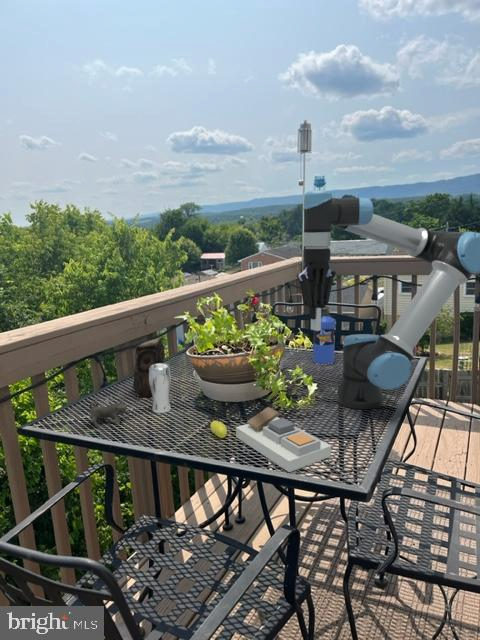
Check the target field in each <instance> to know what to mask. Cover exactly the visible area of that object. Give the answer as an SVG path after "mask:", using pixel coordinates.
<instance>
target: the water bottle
mask: <svg viewBox="0 0 480 640" xmlns="http://www.w3.org/2000/svg"><path fill="white" fill-rule="evenodd" d="M325 306H326V307H325V308H323V311H322V318H321V330H320V331H315V330H313V334H314V335H313V336H314V337H313V343H312V345H313V347H312V363H313V362H314V363H318V364H328V363H332V362H334V363H335V337H334V335H335V330H336V319H335V318H333V317H331V316H330V313H331V312H330V310H329V309H330V308H329V306H328V305H325ZM314 363H313V364H314Z"/></svg>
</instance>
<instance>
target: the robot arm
mask: <svg viewBox="0 0 480 640" xmlns="http://www.w3.org/2000/svg"><path fill="white" fill-rule="evenodd" d="M303 198H304V199H303V207H302V209H303V247H304V248H303V252H302V253H303V254H302V255H303V257H302V260H303V262H304V266H303V271H302V272H300V273H297V274H296V279H297V280H298V282H299V286H300V287H299V288H300V292H301V297H302V304H303V306H304V307H307V308H308V310H309V312H308V313H309V319H310V330H311V331H314V330H315V331H320V330H321V318H322V311H323V308H325V307H326V306H328V304H329V301H330V298H331V297H330V296H331V291H332V286H333V282H334V278H335V276H336V270H335V271H334V270H331V269H330V265H329V262H330V261H331V249H330V248H329V247H331V244H332V243H331V241H332V238H331V237H332V236H331V235H332V234H331V233H332V227H334V228H337V229H340V230H343V231H346V232H349V233H352V234H355V235H357V236H360V237H364V238H365V239H369V240H373V241H376V242H378V243H381V244H383V245H386V246H390V247H392V248H395V249H399V250H402V251H405V252H407V255H409V256H410V257H412V258H415V259H418V260H420V261H423V262H425V263H427V264H429V265H431V267H432V270H431V272H430V274H429V275H428V276H427V278H426V279H425V280H424V282H423V283H422V285H421V286H420V287H419V289H418V290H417V292H415V293H416V294H415V295H414V296H413V297H412V299H411V301H410V302H409V303H408V305H407V306H406V307H405V309H404V310H403V312H402V313H401V314H400V316H399V318H398V319H397V320H396V321H395V323H394V324H393V325H392V327H391V329H390V330H389V332H388V333H386V334H381V335H377V334H370V333H365V334H364V333H362V334H359V333H358V334H357V333H356V334H350V335H346V336H345V337H344V339H343V345H342V348H343V351H342V380H341V381H340V385H339V388H338V390H337V393H336V401H337V403H339V405H341V406H344V407H347V408H349V409H355V410H356V409H357V410H372V409H377V408H379V407H382V405H383V404H384V396H383V393H382V390H381V389H383V390H384V389H385V390H394V389H398V388H400V387H402V386H403V385H405V383H406V382H407V381H408V380H409V378H410V376H411V373H412V370H411V368H412V363H411V362H412V360H413V359H414V358H415V355H414V352H413V351H414V348H415V347H416V346H417V344H418V343H419V341H420V340H421V338H422V337H423V336H424V334H425V333H426V331H427V330H428V328H429V327H430V326H431V324H432V323H433V322H434V321H435V319H436V317H437V316H438V314H439V313H440V312H441V310H443V307H444V306H445V305H446V303H447V302H448V300H449V299H450V297H451V296H452V295H453V294H454V292H455V291H456V289H457V288H458V286H459V285H463V284H467V283H468V281H469V280H470V279H471V277H473V275H474V274H479V273H480V232H473V231H444V230H443V231H440V230H439V231H438V230H437V231H436V230H432V229H426V228H425V227H419V228H415V227H411V226H410V225H409V226H408V225H406V224H403V223H401V222H397V221H394V220H393V219H390V218H386V217H383V216H381V215H378V214H375V213H374V205H373V202H372V200H371V199H370V198H367V197H366V198H365V197H343V198H339V197H338V198H337V197H333V195H332V191H331V190H325V189H324V190H310V191H309V190H308V191H307V192H305V194H304V197H303Z"/></svg>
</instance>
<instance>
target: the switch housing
mask: <svg viewBox="0 0 480 640" xmlns="http://www.w3.org/2000/svg"><path fill="white" fill-rule="evenodd" d="M278 419H281V418H280V417H279V416H278V417H276V418H275V419H273V420H272V421H274V420H278ZM300 433H303V434H305V435H307V436H308V437H310V438H312V439H314V441H313V442H311V443H308V444H305V445H302V446H298V445H296V444H294V443H293V442H291V441H289V440H287V438H288V437H291V436H294V435H297V434H300ZM235 437H236V438H237V439H238V440H240V441H241V442H243V443H244V444H246V445H248V446H249V447H250V448H252V449H253V450H255V451H257V452H258V453H260V454H261V455H263V456H264V457H265V458H267V459H268V460H270V461H271V462H273V463H275V464H276V465H277V466H279V467H280V468H282V469H284V470H285V471H287V472H288V473H292V472H294V471H298V470H300V469H302V468H304V467H308V466H310V465H312V464H315V463H317V462H320V461H323V460H325V459H328V458H330V457H331V456H332V445H330V444H328V443H327V442H325V441H323V440H321V439H319V438H318V437H316V436H314V435H312V434H310V433H308V432H306V431H304V430H302V429H300V428H299V427H296V426H295V425H294V430H293V431H290V432H287V433H284V434H281V435H279V434H277V433H275V432H274V431H272V430H270V429H268V424H266V425H265V426H264V427H262V428H261V429H259V430H257V429H255V428H254V427H252V426H250V425H249V424H248V423H246V424H242V425H239V426H236V427H235Z"/></svg>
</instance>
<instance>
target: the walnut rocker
mask: <svg viewBox="0 0 480 640" xmlns="http://www.w3.org/2000/svg"><path fill="white" fill-rule="evenodd" d="M279 416H280V412H279V411H277V410H276V409H274V408H272V407H270V406H267V407H266V408H264V409H263V410H261V411H260V412H258V413H257V414H256V415H254V416H252V418H250V419H248V420H247V424H249V425H250V426H252V427H254V428H255V429H257V430H259V429H261V428H262V427H264V426H265V425H266V424H268V422H271V421H272V420H273V419H275V418H276V417H278V418H279Z"/></svg>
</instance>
